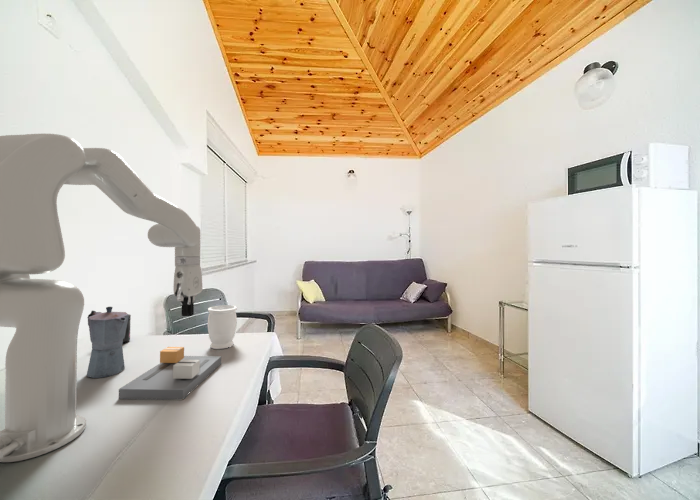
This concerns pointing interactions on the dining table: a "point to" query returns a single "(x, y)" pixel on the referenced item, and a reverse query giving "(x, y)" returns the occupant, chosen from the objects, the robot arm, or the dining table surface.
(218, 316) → the jar
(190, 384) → the console
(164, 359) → the orange fader
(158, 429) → the dining table surface
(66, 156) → the robot arm
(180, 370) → the block
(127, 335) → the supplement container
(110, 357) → the moka pot
